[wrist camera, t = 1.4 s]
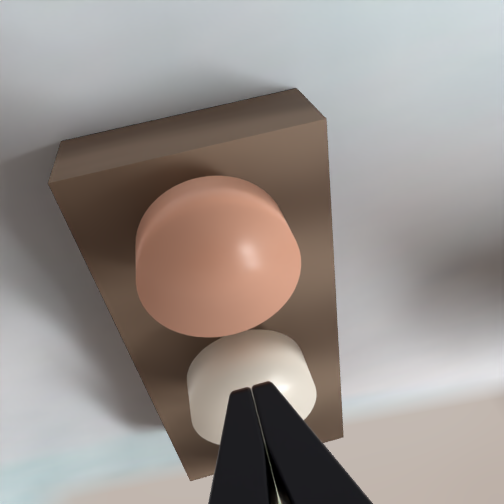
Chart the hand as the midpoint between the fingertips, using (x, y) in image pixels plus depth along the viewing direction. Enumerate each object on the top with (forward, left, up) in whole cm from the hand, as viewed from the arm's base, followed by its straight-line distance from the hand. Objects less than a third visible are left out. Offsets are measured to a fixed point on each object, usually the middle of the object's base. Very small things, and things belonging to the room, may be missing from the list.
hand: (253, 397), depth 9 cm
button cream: (-4, +5, -5) cm, 8 cm away
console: (-4, +5, -10) cm, 11 cm away
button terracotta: (0, 0, -5) cm, 5 cm away
